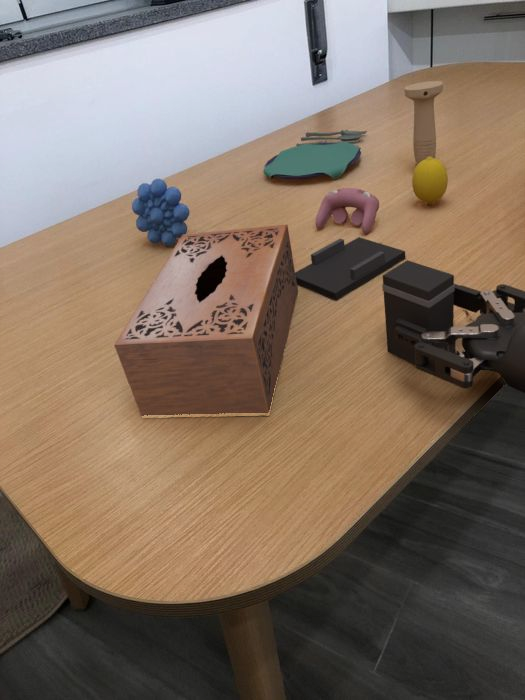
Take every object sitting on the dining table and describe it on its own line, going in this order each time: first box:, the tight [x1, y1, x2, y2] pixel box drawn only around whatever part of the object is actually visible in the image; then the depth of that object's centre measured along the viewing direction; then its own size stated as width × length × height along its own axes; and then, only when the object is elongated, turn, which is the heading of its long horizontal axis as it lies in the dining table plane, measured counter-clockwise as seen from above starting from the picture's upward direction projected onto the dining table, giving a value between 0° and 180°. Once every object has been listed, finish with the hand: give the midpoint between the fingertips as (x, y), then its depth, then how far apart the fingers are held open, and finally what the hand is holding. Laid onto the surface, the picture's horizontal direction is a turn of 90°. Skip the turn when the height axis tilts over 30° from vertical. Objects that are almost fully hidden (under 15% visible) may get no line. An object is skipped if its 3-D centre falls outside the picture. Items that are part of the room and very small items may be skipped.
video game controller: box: [314, 187, 380, 235], centre depth 97 cm, size 10×5×7 cm, turn 57°
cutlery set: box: [262, 129, 368, 180], centre depth 127 cm, size 20×30×2 cm, turn 157°
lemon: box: [411, 157, 449, 206], centre depth 97 cm, size 6×6×8 cm
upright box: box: [381, 260, 456, 365], centre depth 64 cm, size 4×6×10 cm
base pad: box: [295, 236, 406, 301], centre depth 85 cm, size 14×9×3 cm, turn 129°
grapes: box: [131, 178, 190, 248], centre depth 101 cm, size 12×7×12 cm, turn 63°
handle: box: [404, 80, 444, 167], centre depth 108 cm, size 5×6×15 cm
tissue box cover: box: [113, 224, 299, 417], centre depth 72 cm, size 26×14×10 cm, turn 170°
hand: (422, 309), depth 63 cm, fingers open, 8 cm apart
